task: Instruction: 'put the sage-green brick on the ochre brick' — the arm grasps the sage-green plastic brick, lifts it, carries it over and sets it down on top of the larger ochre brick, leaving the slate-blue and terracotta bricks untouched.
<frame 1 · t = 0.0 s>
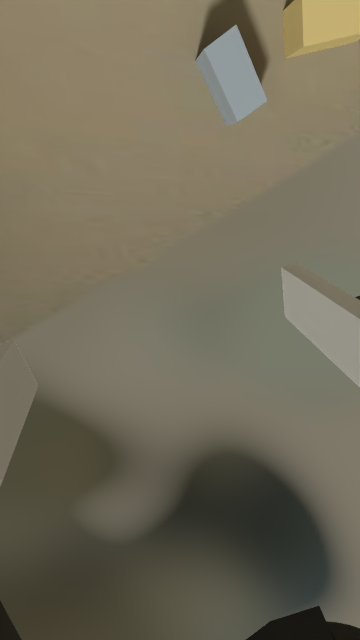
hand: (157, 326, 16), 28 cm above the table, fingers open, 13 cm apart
slate brick: (225, 84, 36), on the table
ochre brick: (318, 27, 35), on the table
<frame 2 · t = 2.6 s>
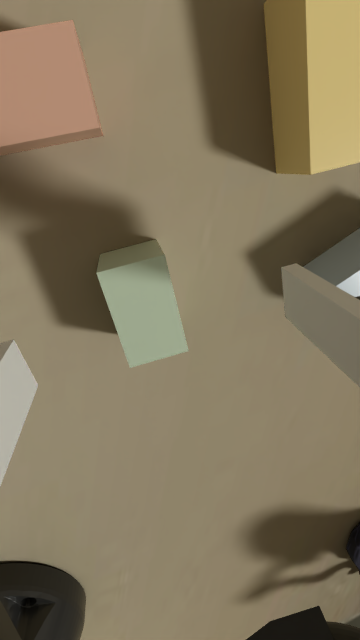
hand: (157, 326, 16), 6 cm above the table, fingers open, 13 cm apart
sage brick: (141, 289, 22), on the table
slate brick: (350, 259, 24), on the table
terracotta brick: (26, 109, 17), on the table
ochre brick: (302, 89, 19), on the table
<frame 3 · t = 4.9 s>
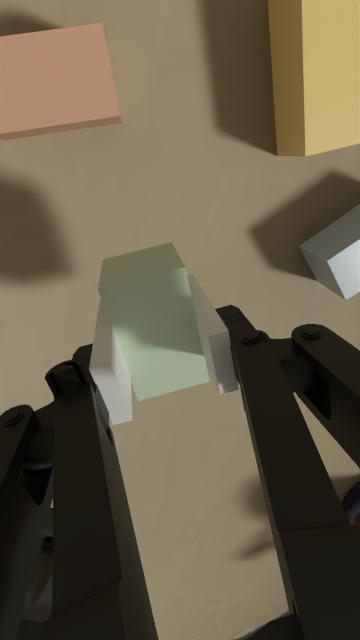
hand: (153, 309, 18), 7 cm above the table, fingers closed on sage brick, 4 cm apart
sage brick: (151, 302, 18), point 7 cm above the table, touching gripper
slate brick: (346, 236, 26), on the table
terracotta brick: (55, 96, 19), on the table
ochre brick: (302, 78, 20), on the table
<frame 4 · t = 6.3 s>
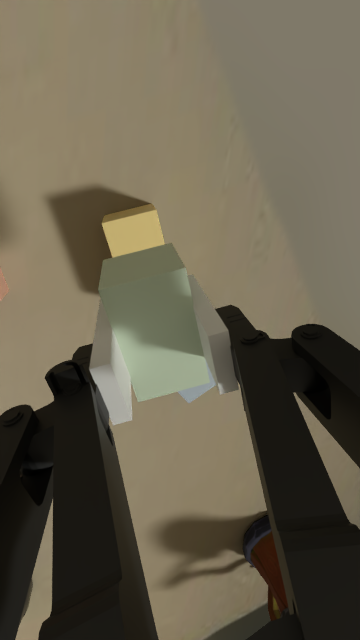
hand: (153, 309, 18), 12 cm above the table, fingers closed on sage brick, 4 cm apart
sage brick: (151, 303, 18), point 12 cm above the table, touching gripper
slate brick: (198, 348, 34), on the table
mug: (268, 544, 52), on the table
ochre brick: (140, 255, 29), on the table
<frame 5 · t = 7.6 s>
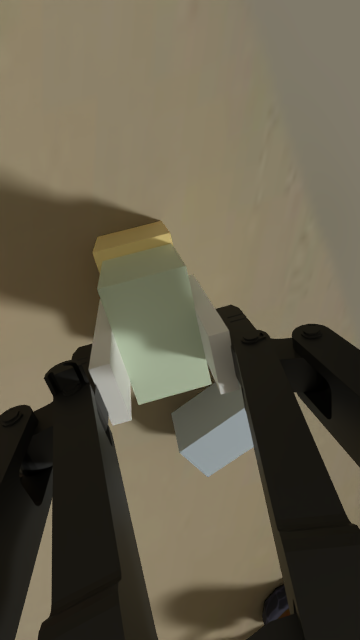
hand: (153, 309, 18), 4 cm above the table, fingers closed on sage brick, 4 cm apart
sage brick: (151, 304, 18), point 4 cm above the table, touching gripper
slate brick: (217, 400, 27), on the table
mug: (291, 609, 45), on the table
ochre brick: (146, 287, 22), on the table, touching gripper
when the fingers open (4 cm above the table, at t = 8.0 s): sage brick stays where it is, point 4 cm above the table.
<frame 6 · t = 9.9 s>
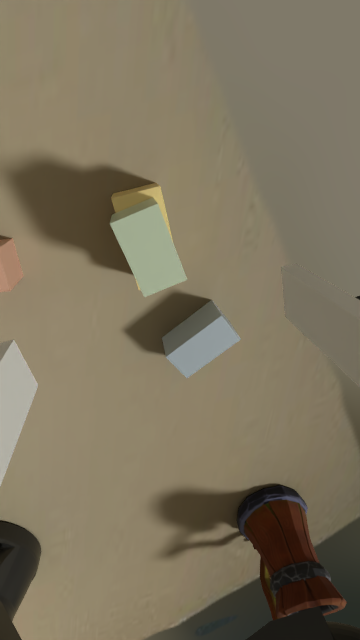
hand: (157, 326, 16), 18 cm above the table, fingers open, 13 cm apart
sage brick: (147, 240, 28), point 4 cm above the table
slate brick: (195, 329, 37), on the table
mug: (261, 519, 55), on the table
ochre brick: (145, 231, 31), on the table
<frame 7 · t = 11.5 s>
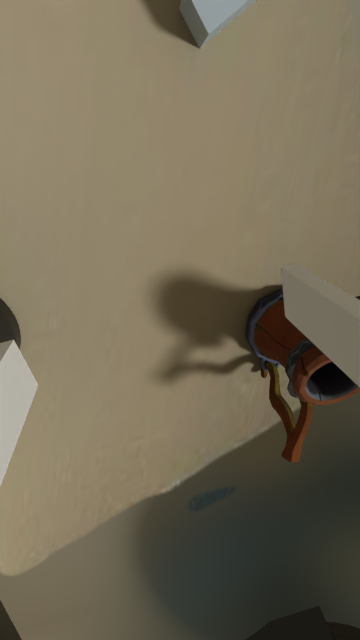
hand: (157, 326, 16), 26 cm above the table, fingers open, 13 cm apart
slate brick: (218, 3, 31), on the table
mug: (272, 341, 49), on the table
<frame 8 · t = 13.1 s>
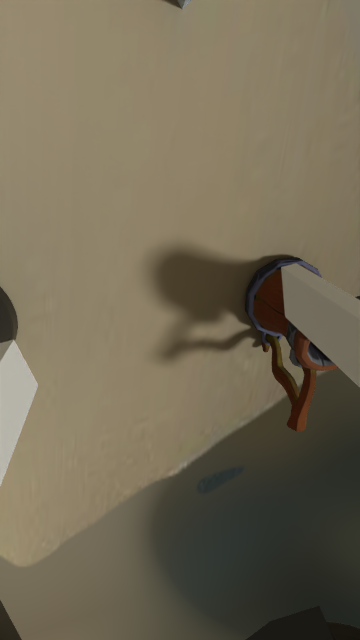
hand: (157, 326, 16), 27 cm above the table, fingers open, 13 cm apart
mug: (272, 314, 48), on the table
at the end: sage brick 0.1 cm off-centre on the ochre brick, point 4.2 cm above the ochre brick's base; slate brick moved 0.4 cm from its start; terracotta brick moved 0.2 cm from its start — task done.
